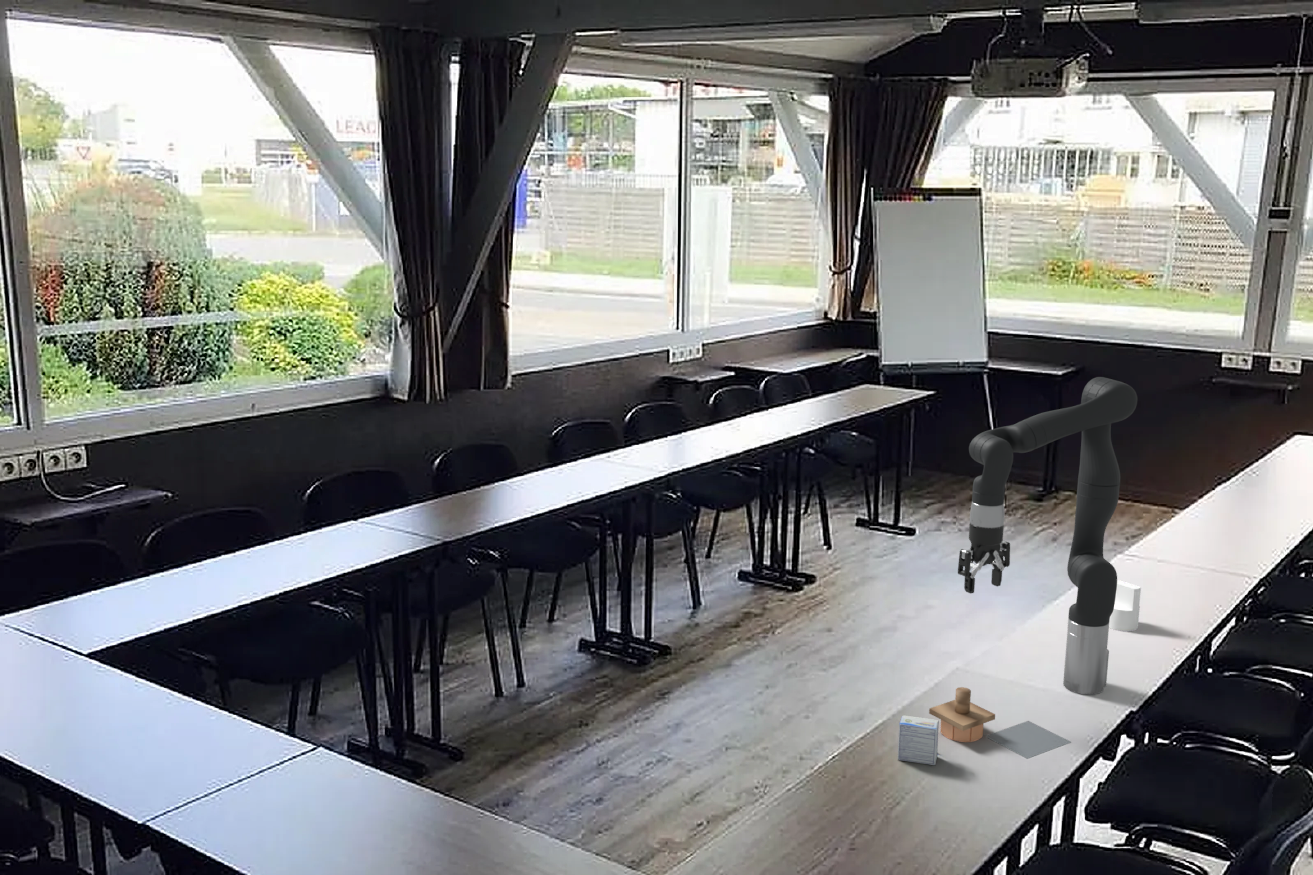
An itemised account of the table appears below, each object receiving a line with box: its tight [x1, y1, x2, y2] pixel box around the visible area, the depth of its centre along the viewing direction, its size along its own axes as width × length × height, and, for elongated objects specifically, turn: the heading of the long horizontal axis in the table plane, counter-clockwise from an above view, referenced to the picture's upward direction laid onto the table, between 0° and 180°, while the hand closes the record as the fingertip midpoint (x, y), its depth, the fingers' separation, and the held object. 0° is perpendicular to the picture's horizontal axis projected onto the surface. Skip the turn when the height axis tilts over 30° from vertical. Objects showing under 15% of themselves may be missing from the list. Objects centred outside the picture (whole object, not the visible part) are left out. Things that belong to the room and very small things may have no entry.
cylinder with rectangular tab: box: [1109, 579, 1142, 632], centre depth 325 cm, size 9×9×12 cm
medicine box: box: [897, 714, 940, 766], centre depth 253 cm, size 8×4×9 cm, turn 71°
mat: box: [984, 720, 1072, 759], centre depth 261 cm, size 14×12×1 cm
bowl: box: [940, 719, 984, 743], centre depth 264 cm, size 9×9×4 cm
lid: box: [928, 686, 996, 731], centre depth 263 cm, size 10×10×6 cm
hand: (982, 588), depth 274 cm, fingers open, 8 cm apart
